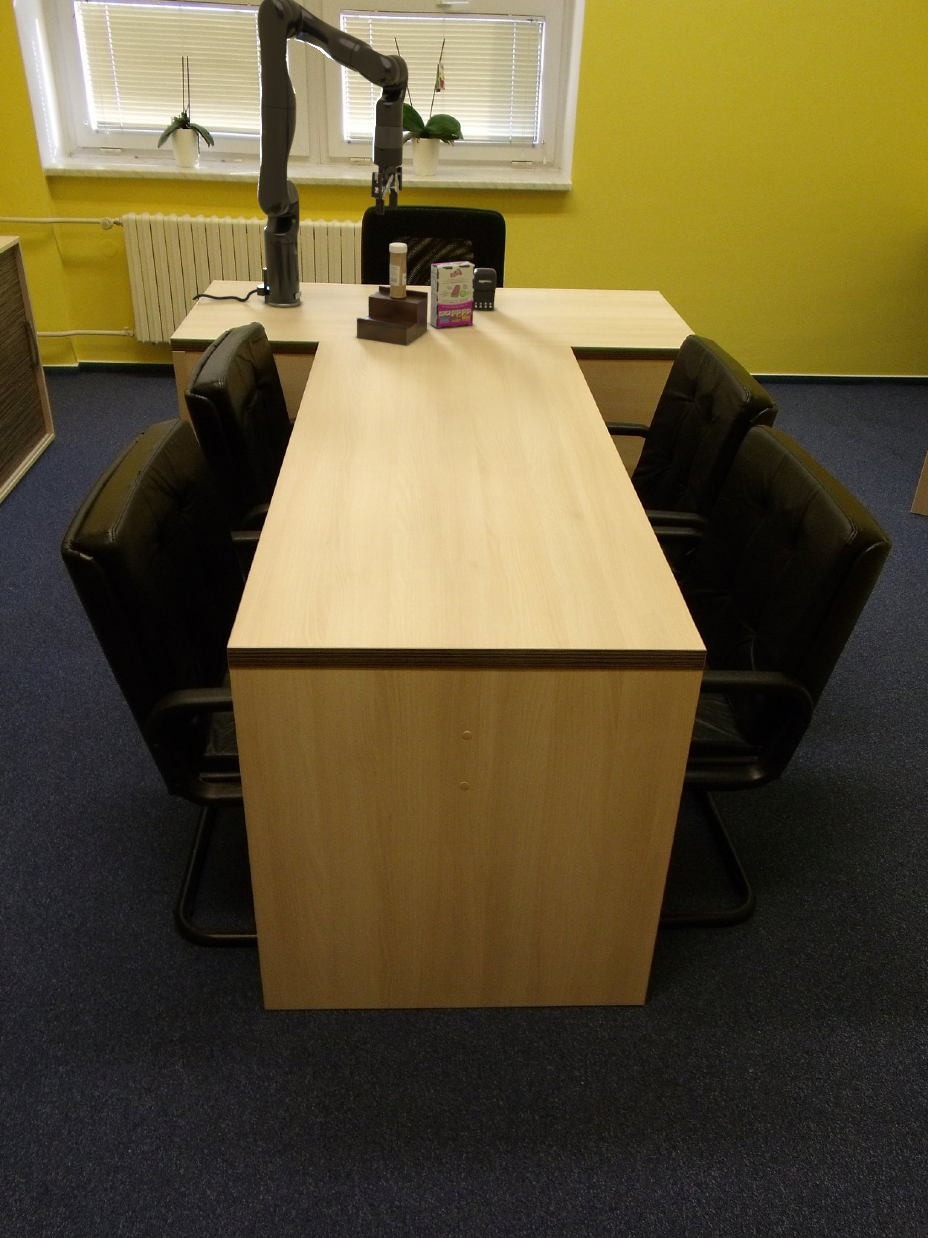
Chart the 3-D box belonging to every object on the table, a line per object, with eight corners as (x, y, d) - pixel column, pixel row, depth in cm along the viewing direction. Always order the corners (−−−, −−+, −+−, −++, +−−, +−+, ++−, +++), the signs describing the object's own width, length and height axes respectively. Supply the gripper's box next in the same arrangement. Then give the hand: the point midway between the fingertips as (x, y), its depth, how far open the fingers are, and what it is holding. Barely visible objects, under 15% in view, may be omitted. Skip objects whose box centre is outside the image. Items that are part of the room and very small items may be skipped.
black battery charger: (471, 311, 292) (473, 270, 286) (470, 307, 296) (472, 267, 289) (495, 311, 293) (497, 271, 287) (494, 308, 296) (496, 267, 290)
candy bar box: (465, 320, 284) (468, 260, 275) (473, 325, 280) (476, 264, 271) (428, 323, 279) (430, 262, 271) (436, 329, 276) (438, 267, 267)
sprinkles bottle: (409, 297, 268) (410, 244, 260) (394, 299, 265) (395, 246, 258) (400, 293, 271) (401, 241, 264) (386, 295, 269) (386, 242, 261)
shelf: (356, 337, 266) (356, 298, 260) (379, 323, 278) (379, 285, 272) (406, 345, 262) (406, 305, 257) (427, 330, 274) (428, 292, 269)
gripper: (385, 139, 263) (384, 205, 272) (362, 145, 252) (361, 214, 261) (412, 143, 261) (410, 209, 270) (390, 149, 250) (388, 218, 259)
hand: (386, 211), depth 265 cm, fingers open, 8 cm apart
